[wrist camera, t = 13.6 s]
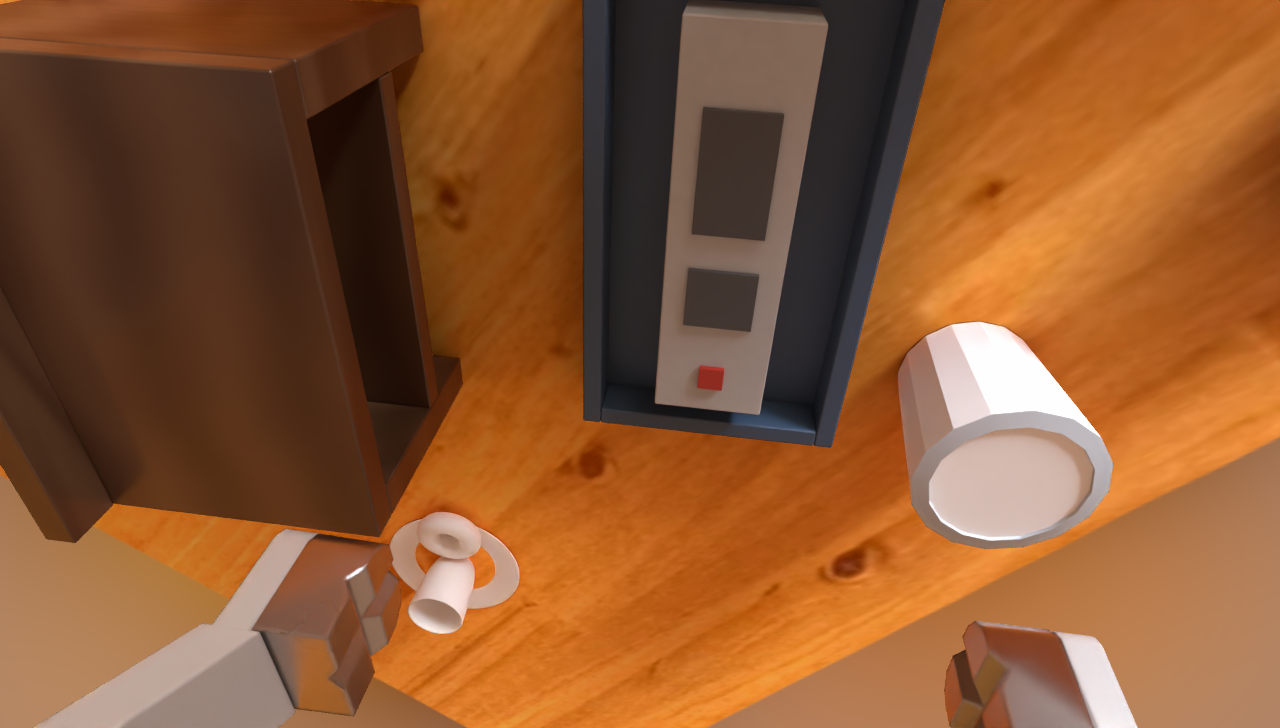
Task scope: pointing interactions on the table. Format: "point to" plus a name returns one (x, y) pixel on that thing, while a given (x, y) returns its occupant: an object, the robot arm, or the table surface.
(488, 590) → the white piece
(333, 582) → the robot arm
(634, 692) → the table surface
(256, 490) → the shelf
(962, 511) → the white cup
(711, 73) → the remote
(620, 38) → the tray
